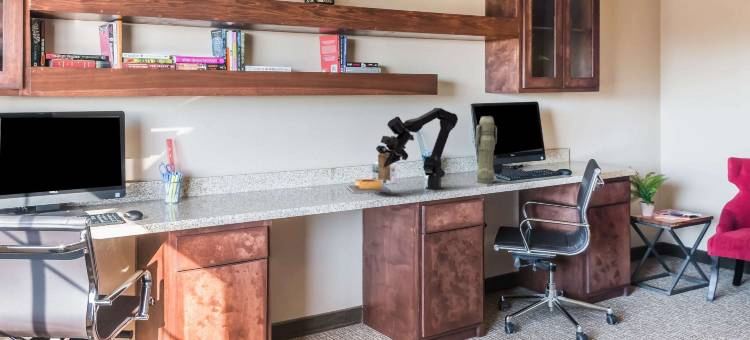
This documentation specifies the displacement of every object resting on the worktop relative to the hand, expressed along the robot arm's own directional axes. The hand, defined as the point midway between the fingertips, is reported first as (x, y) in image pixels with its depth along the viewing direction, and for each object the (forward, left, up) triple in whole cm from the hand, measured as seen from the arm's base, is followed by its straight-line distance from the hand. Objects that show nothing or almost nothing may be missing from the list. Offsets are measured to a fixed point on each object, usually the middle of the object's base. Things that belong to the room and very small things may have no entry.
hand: (381, 165), depth 327 cm
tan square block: (-1, 0, -7) cm, 7 cm away
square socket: (-4, -15, -13) cm, 20 cm away
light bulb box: (-26, -30, -14) cm, 41 cm away
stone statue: (-71, 0, -14) cm, 72 cm away
